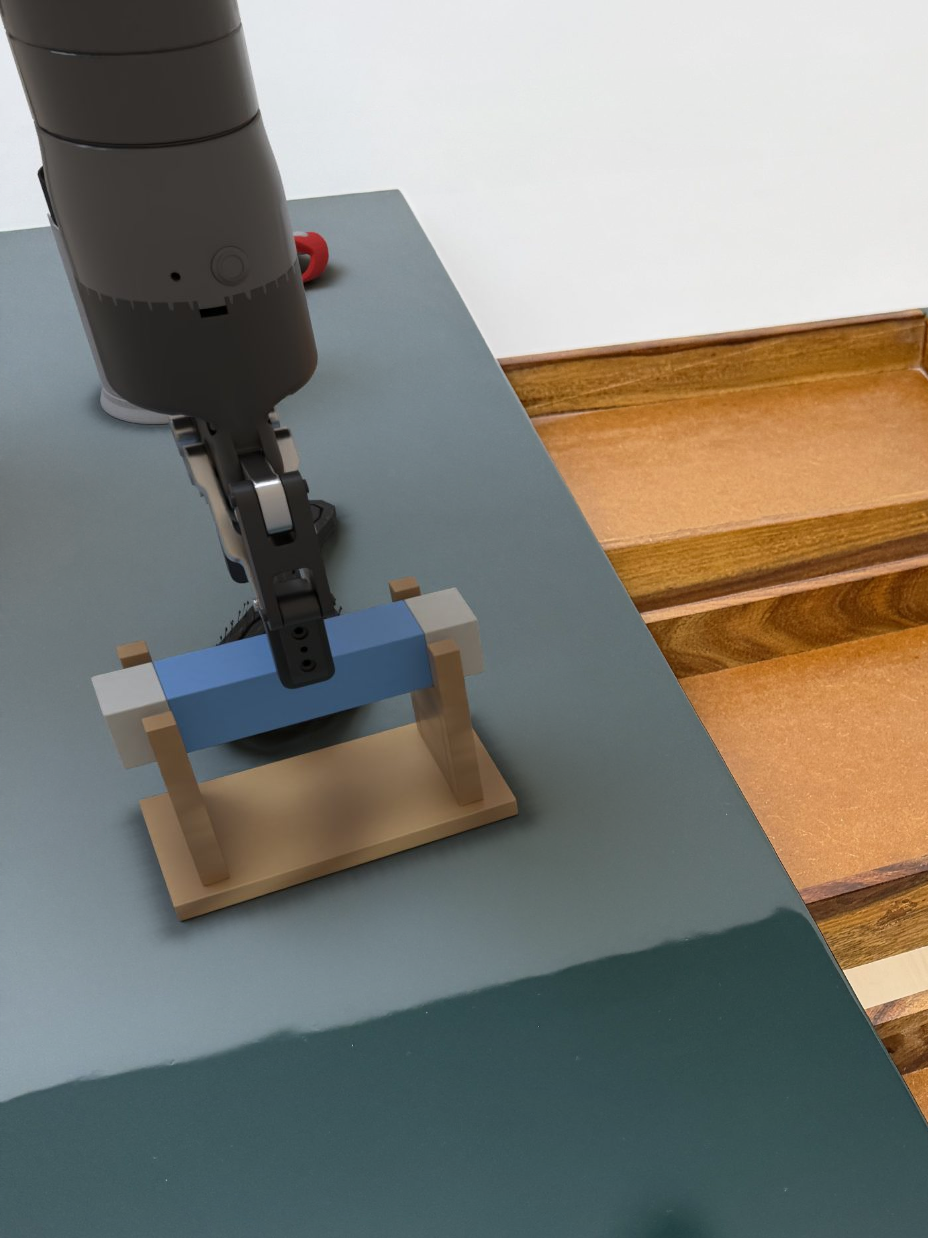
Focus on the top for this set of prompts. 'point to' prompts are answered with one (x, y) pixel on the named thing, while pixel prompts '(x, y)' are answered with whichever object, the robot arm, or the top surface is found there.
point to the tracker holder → (312, 253)
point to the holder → (321, 796)
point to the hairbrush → (252, 619)
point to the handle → (252, 692)
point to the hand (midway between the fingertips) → (281, 626)
